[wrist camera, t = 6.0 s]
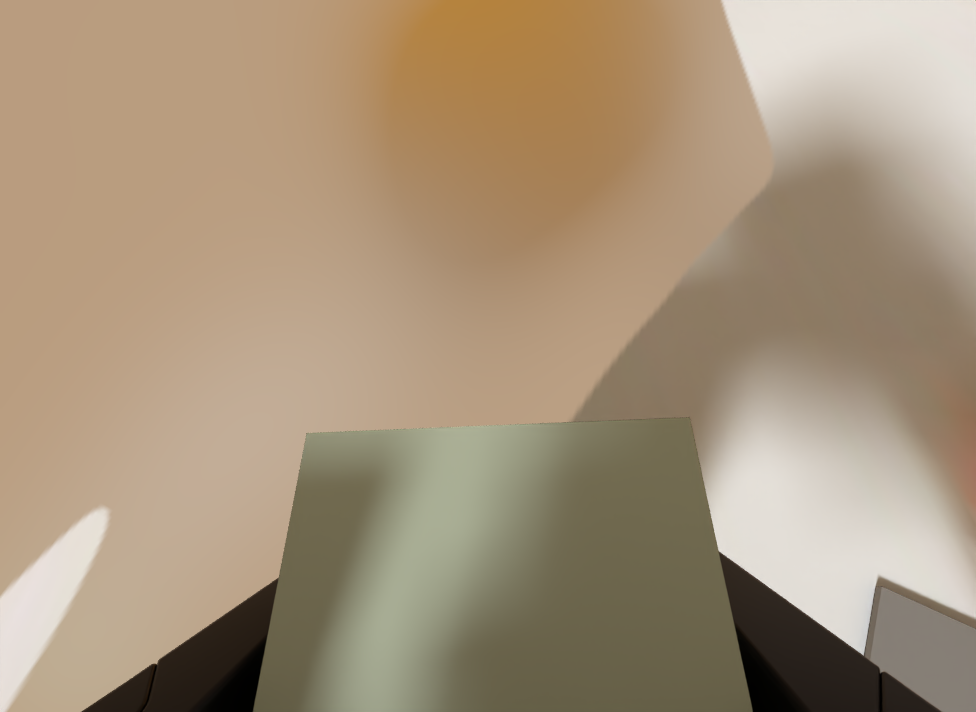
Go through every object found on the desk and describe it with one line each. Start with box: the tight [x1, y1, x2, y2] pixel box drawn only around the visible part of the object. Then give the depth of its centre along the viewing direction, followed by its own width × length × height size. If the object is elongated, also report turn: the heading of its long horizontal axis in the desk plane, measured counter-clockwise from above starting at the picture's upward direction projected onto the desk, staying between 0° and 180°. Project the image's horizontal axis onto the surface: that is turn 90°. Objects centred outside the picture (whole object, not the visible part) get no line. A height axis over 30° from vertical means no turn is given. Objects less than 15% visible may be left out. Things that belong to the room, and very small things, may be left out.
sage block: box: [253, 417, 753, 712], centre depth 9 cm, size 5×5×10 cm
